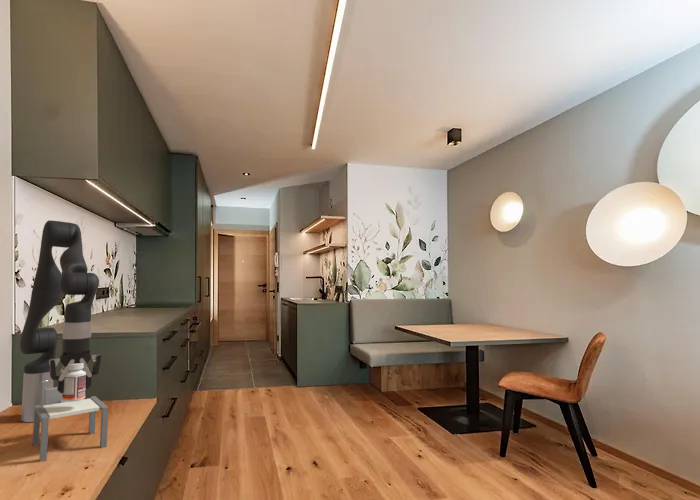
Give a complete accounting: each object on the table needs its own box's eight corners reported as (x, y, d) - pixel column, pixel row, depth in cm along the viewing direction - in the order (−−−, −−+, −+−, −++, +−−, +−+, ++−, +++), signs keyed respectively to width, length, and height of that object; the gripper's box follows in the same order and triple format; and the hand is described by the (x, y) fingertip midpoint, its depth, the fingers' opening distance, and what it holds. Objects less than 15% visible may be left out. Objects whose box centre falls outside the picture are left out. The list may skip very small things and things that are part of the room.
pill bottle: (84, 395, 139) (85, 359, 139) (86, 400, 134) (88, 363, 134) (61, 398, 135) (62, 362, 136) (62, 403, 130) (64, 365, 131)
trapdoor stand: (32, 444, 136) (34, 405, 137) (93, 431, 148) (95, 396, 149) (40, 461, 124) (42, 418, 125) (106, 446, 135) (108, 407, 136)
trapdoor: (40, 404, 141) (40, 389, 142) (85, 397, 150) (86, 382, 150) (49, 419, 127) (50, 401, 128) (99, 410, 136) (100, 394, 136)
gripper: (99, 333, 143) (97, 384, 142) (47, 337, 134) (44, 392, 133) (105, 335, 138) (103, 389, 137) (51, 339, 128) (48, 397, 127)
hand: (74, 390), depth 135 cm, fingers closed on pill bottle, 6 cm apart
